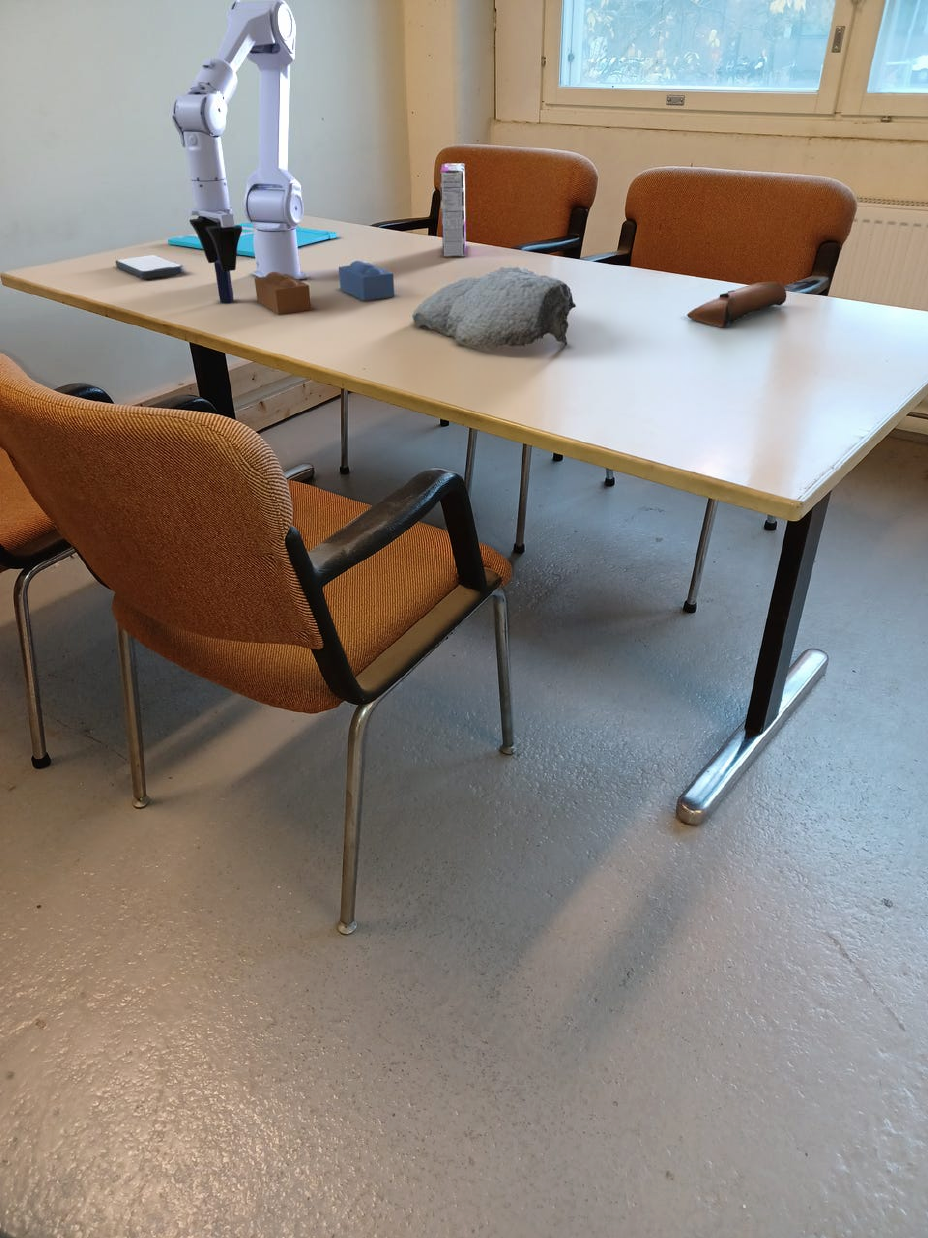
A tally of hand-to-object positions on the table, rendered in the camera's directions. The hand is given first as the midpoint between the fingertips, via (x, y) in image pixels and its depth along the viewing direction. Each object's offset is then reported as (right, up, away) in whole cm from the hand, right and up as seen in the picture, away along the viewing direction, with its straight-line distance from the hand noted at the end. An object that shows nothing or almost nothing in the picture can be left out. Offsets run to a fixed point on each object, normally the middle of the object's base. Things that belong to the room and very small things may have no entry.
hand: (221, 266), depth 152 cm
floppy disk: (-6, +25, +48) cm, 54 cm away
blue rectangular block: (+24, -2, +8) cm, 26 cm away
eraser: (0, -5, +3) cm, 6 cm away
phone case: (-21, +9, +24) cm, 33 cm away
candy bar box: (+40, +18, +37) cm, 57 cm away
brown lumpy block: (+11, -6, +1) cm, 12 cm away
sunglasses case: (+87, -10, -5) cm, 88 cm away
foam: (+47, -16, -13) cm, 51 cm away
